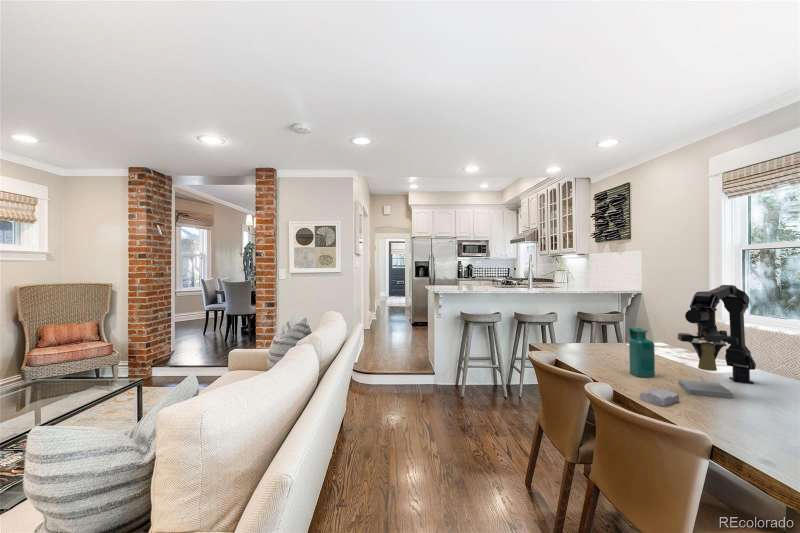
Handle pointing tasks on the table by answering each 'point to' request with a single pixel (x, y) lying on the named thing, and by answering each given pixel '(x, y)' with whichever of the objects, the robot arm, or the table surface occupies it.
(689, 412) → the table surface
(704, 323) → the robot arm
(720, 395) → the plinth
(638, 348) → the teal bottle
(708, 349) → the cork
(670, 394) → the stone block
